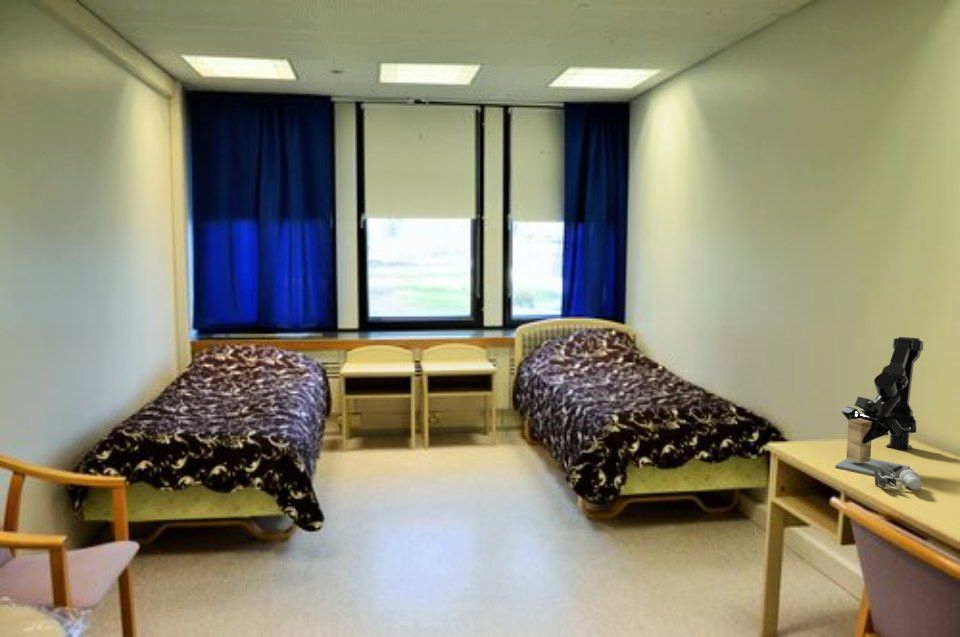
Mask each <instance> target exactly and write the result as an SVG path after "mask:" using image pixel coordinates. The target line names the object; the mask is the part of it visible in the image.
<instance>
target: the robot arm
mask: <svg viewBox="0 0 960 637" xmlns="http://www.w3.org/2000/svg"><path fill="white" fill-rule="evenodd" d="M892 349H893V352H892V355H891V357H890V362H889V364H887V365H886V366H884V367H883V368H882V371H881V373H879V374H878V375H876V377H875V378H874V381H873V382H874V386H875V390H876V394H877V396H876V397H875V398H873V399H872V398H871V399H869V398H866V397H863V396H857V398H856V401H855V403H854V406H855V407H857V408H860V412H861V413H863V414H861V413H860V412H859V410H858V409H857V408H853V407H850V406H845V407H843V409H842V410H841V413H842V414H843V415H844V417H845V418H846V419H847V421H849V420H850V419H858V418H861V419H864V420H868V421H871V422H872V426H871V428H870V430H869V431H868V433H867V434H866V435H865V437H864V439H863V440H862V442H863V443H864V444H865V443H867V442H869V441H871V442H872V441H873V440H876V439H878V438H880V437H884V436H890V437H889V443H887V444H886V445H885V447H886V448H890V449H896V450H901V451H908V450H909V449H911V448H913V446H912V445H911V444H910V445H909V442H910V434H916V433H917V420H916V419H915V416H914V411H913V409H912V408H911V405H910V397H911V388H912V382H913V381H912V379H913V372H914V367H915V366H914V364H915V363H916V362H917V360H918V359H919V358H920V356H921V352H923V349H924V342H923V341H922V340H921V339H920V338H919V337H908V336H899V337H896V338H893V344H892Z"/></svg>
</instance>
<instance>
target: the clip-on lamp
mask: <svg viewBox="0 0 960 637" xmlns="http://www.w3.org/2000/svg"><path fill="white" fill-rule="evenodd" d="M877 460H878V463H879V462H881V461H882V460H881V461H879V460H880V459H877ZM881 463H882V462H881ZM882 464H883V465H885V464H884V463H882ZM879 465H880V463H879ZM880 466H881V465H880ZM885 466H886V465H885ZM886 467H887V468H888V469H890V468H889V467H888V466H886ZM903 467H905V466H898V467H896V468H894V469H892V470H891V469H890V471H889V472H887V471H885V470H884V469H883V468H882V467H881V468H882V469H883V470H884V471H885V472H887V473H890V472H891V473H894V472H896V471H898V470H899V469H902V468H903ZM884 471H881V476H879V475H878V473H877V471H874V473H875V476H874V485H875V486H877V487H878V486H880V487H881V488H886V487H893V488H895V489H896V490H898V491H899V492H901V491H902V487H901V486H900V485H899V484H898V483H901V484H902V485H903V486H905V487H907V488H909V489H911V490H915V491H917V490H919V489H920V488H922V484H923V483H922V481H921V480H920V479H921V478H920V475H919V474H918V472H916V471H915V470H912V469H907V470H904V471H902V472H901V473H900V476H899V477H898V478H893V477H895V476H896V474H895V473H894V474H895V475H893V474H891V476H892V477H890V476H887V475H885V474H884Z"/></svg>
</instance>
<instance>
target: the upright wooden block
mask: <svg viewBox="0 0 960 637" xmlns="http://www.w3.org/2000/svg"><path fill="white" fill-rule="evenodd" d="M847 421H848V420H847ZM847 424H848V426H847V442H846V443H847V444H846V457H845V459H849V460H852V461H855V462H858V463H862V462H869V461H870V458H871V456H872V455H871V453H872V440H871V441H869V442H867V443H865V444H864V443H863V442H862V440H863V439H864V437H865V435H866V434H867V433H868V431H869V430H870V428H871V426H872V422H871V421H868V420H864V419H861V418H858V419H850V420H849V421H848V423H847Z"/></svg>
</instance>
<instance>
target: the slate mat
mask: <svg viewBox="0 0 960 637" xmlns="http://www.w3.org/2000/svg"><path fill="white" fill-rule="evenodd" d="M878 460H879V461H881V462H882V463H884V464H885V465H886V466H888V467H889V468H890V469H891V470H892V469H894V468H896V467H898V466H905V467H903V468H902V469H899V470H898V471H896V472H894V473H895V474H896V476H895V477H893V478H898V479H899V476H900V473H901V472H902V471H904V470H907V469H910V468H911V466H910V465H904V464H900V463H896V462H890V461H884V460H880V459H877V458H876V459H875V458H871V457H870V461H869V462H862V463H858V462H855V461H852V460H849V459H846V458H845V459H843V460H842V461H840V462H838V463H836V464H835V465H834V469H839V468H840V469H839V470H843V469H845V470H844V471H848V470H851V471H850V472H853V471H855V472H854V473H857V472H859V473H858V474H862V473H863V475H866V474H868V476H871V475H872V476H871V477H875V473H874V471H877V473H878V475H879V476H881V471H884V470H885V471H887V472H889V471H890V469H888V468H887V467H886V466H885V465H883V464H882V463H881V462H879V463H880V465H881V466H880V465H879V463H878ZM881 467H882V468H883V469H884V470H883V469H882V468H881ZM910 470H911V469H910ZM885 471H884V474H885V475H887V476H890V477H892V476H891V474H893V475H895V474H894V473H891V472H890V473H887V472H885Z"/></svg>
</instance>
